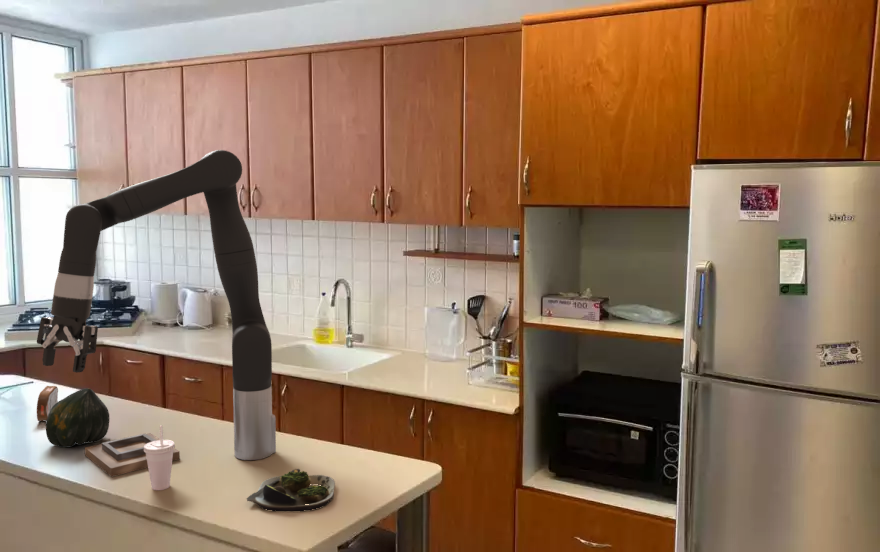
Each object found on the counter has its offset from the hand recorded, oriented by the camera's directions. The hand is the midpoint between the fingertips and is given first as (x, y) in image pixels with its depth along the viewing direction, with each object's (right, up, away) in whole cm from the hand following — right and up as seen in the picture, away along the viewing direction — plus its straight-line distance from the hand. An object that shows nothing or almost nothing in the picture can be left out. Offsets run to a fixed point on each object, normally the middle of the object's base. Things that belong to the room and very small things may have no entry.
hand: (62, 368), depth 150 cm
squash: (-12, -23, +29) cm, 39 cm away
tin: (-31, -21, +50) cm, 62 cm away
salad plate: (+51, -28, -2) cm, 58 cm away
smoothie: (+20, -27, +2) cm, 34 cm away
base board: (+7, -24, +19) cm, 32 cm away
